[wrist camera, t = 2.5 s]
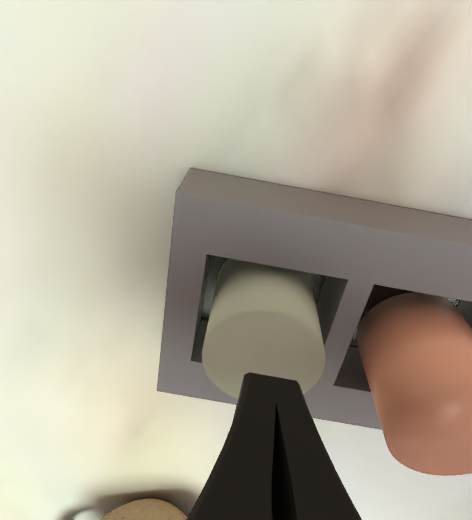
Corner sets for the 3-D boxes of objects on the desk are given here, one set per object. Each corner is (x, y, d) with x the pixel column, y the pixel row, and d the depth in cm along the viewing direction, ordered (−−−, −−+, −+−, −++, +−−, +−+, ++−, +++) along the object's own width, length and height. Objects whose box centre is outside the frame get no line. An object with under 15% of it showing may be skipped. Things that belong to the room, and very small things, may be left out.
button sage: (322, 254, 14) (341, 323, 11) (298, 331, 16) (308, 412, 12) (224, 236, 14) (210, 300, 11) (210, 315, 16) (195, 393, 12)
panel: (679, 258, 14) (756, 297, 11) (551, 414, 17) (590, 465, 15) (190, 168, 13) (176, 191, 11) (170, 347, 17) (156, 390, 15)
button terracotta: (482, 302, 13) (561, 397, 10) (437, 380, 15) (490, 484, 11) (376, 283, 13) (416, 372, 9) (343, 363, 15) (367, 463, 11)
